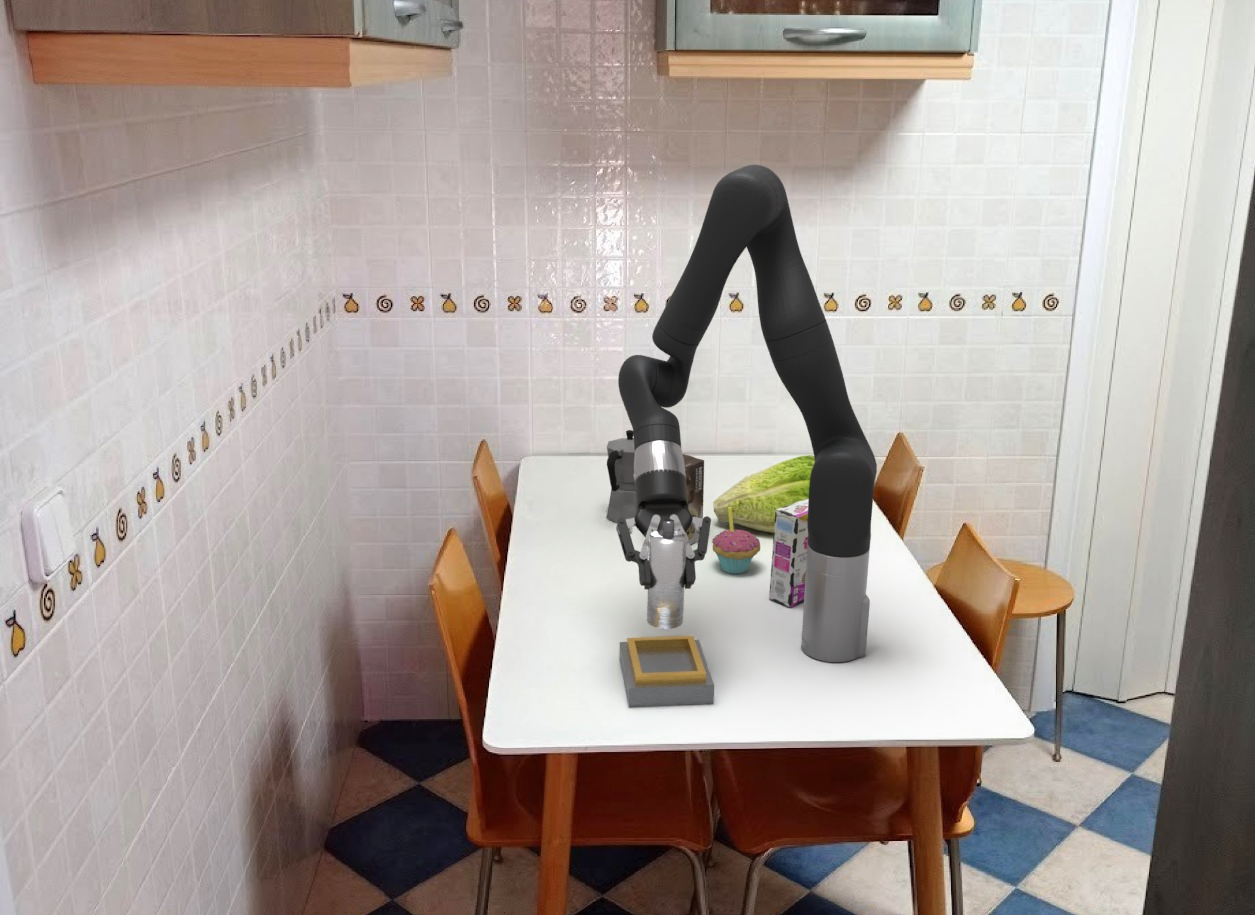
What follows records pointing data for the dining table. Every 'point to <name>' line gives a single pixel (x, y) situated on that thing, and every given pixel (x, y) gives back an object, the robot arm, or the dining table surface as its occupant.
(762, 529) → the lettuce
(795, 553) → the candy bar box
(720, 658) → the dining table surface
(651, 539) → the spout can
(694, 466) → the coffee box
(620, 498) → the coffeepot
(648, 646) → the grey square tray
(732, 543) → the cupcake
